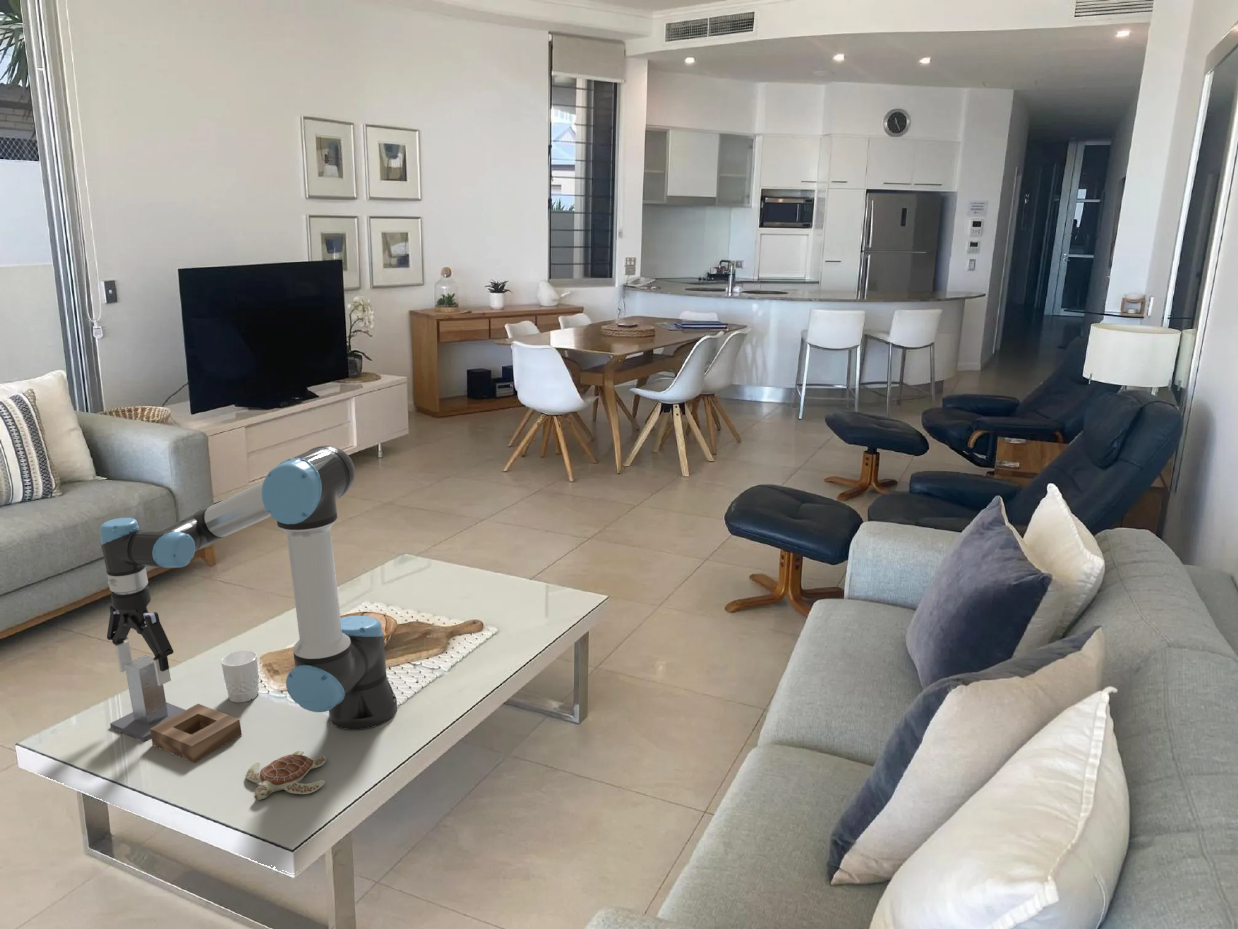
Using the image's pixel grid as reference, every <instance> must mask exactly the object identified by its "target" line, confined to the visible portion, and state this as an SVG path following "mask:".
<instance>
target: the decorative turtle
mask: <svg viewBox="0 0 1238 929" xmlns="http://www.w3.org/2000/svg"><path fill="white" fill-rule="evenodd" d="M326 759H327V758H326V757H325V756H319V757H318V756H317V757H316V758H313V759H312V758H310V757H309V756H306V755H304V750H298V751H295V752H294V753H291V754H287V755H284V756H281V757H279V758H277V759H275V760H273V761H271V762H270V763H269V764H268V765H266V766H264V767H263V768H262V769H261V770H260V771H259V767H260V765H261V764H260V762H255V763H254V764H252V765H251V766H250V767H249V768H248V770H247V771H246V774H245V777H246V778H245V779H247V780H248V781H250V782H252V783H255V784H259V785H258V786H257V787H256V788H254V790H253V793H254V799H255V800H258V801H260V800H261V801H262V800H263V799H266V798H267V797H269V796H270V795H271V794H272V793H274V792H278V791H284V790H285V791H286V793H289V794H295V795H296V794H298V795H309V794H311V793H315V792H316V791H318V790H319V789H320V788H322V787H323V786H324V785H325V782H326V781H324V780H322V779H320V780H317V781H313V782H310V783H302V782H301V781H302V780H303V779H304V777H305V776H306V775H307V774H308V773H309V771H310V770H312V769H317V768H320V767H322V766H323V765H324V764H326V763H325V762H326V761H327V760H326ZM300 782H301V783H300ZM260 783H261V784H260Z"/></svg>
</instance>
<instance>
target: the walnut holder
mask: <svg viewBox="0 0 1238 929" xmlns="http://www.w3.org/2000/svg"><path fill="white" fill-rule="evenodd" d="M150 733H151V738H150V739H151V744H152V746H154V747H156V748H158V749H161V750H164V751H165V750H166V751H165V752H168V753H170V754H172V753H173V754H172V755H175V756H178V757H179V756H180V758H182V759H184V760H187V761H188V762H191V763H194V764H195V763H196V762H199V761H200V760H202V759H203V758H206V757H207V756H209V755H210V754H212V753H214V752H215V751H218V750H219V749H222V747H224V746H226V745H228V744H229V743H231V742H233V741H235V740H236V739H238V738H240V737H241V736H243V734H242V727H241V719H240V718H237V717H234V716H233V715H232V716H231V715H229V714H226V713H224V712H221V711H219V710H216V709H213V708H211V707H208V706H206V705H203V704H200V703H197V704H194V705H193V706H191V707H189V708H187V709H185V711H183V712H181V713H179V714H177V715H175V716H173V717H172V718H170V719H168V720H166V721H164V722H162V723H160V724H158V725H156V726H154V727H152V728H150Z"/></svg>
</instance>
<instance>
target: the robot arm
mask: <svg viewBox="0 0 1238 929" xmlns="http://www.w3.org/2000/svg"><path fill="white" fill-rule="evenodd" d="M355 469H356V468H355V464H354V462H353V459H352V458H351V457H350V455H349V454H348V453H347V452H346V451H344V450H343V449H341V448H340V447H338V446H337V447H336V446H333V445H320V446H316V447H313V448H310V449H309V450H307V451H305V452H303V453H301V454H299V455H296V456H294V457H292V458H288V459H286V460H283V461H282V462H280V463H279V464H277V465H276V466H274V467H273V468H272V469H271V470H270V471H269V472H268V474H267V475H266V476H265V478H264V480H263V481H262V482H260V483H258V484H255V485H253V486H251V487H249V488H247V489H245V490H242V491H241V492H239V493H236V494H234V495H232V496H230V497H228V498H225V499H224V500H221V501H219V502H217V503H214V504H213V505H210V506H208V507H206V508H203V509H199V511H196V512H194V513H193V514H190V515H189V516H186V517H185V518H183V519H181V520H178V521H177V522H175V523H173V524H170V525H168V526H166V527H164V528H162V529H160V530H144V529H140V526H139V523H138V521H137V519H135V518H133V517H119V518H114V519H110V520H107V521H106V522H103V523H102V524H101V525H100V526H99V537H100V545H101V551H102V554H103V559H104V564H105V565H104V566H105V570H106V574H107V584H108V587H109V590H110V592H111V593H110V597H111V603H112V604H110V605H109V621H108V626H107V633H106V638H107V640H108V641H111V642H112V644H113V645H114V647H115V653H116V656H117V663H118V668H119V672H120V673H124V672H126V670H125V664H126V663H128V662H131V661H133V659H132V658H133V657H132V653H131V648H130V643H129V641H128V639H129V638H128V635H129V633H130V631H131V629H132V630H134V631H136V633H137V634H138V635H141V636H142V637H143V640H144V641H145V643H146V644H147V646H148V648H149V649H150V650H151V652H152V653H153V655H154V657H152V658H153V661H154V666H155V672H156V678H157V683H158V685H159V686H161V685H163V686H164V685H165V684H166V683H167V684H168V682H169V683H170V682H171V681H172V679H171V673H170V665H169V659H168V656H170V655H172V654H174V649H173V647H172V645H171V642H170V640H169V639H168V636H167V634H166V631H165V630H164V627H163V625H162V624H161V620H160V617H159V616H160V615H159V614H158V612H157V611H155V612H151V613H150V612H149V610H148V608H147V606H148V605H149V604H150V603H151V600H152V597H151V592H150V586H149V585H148V584H149V579H148V574H147V573H148V572H147V568H146V566H147V567H158V568H164V569H165V568H166V569H175V568H183V567H186V566H187V565H189V564H190V563H191V560H192V559H193V558H194V556H195V553H196V551H199V550H200V549H202V548H204V547H205V546H207V545H210V544H211V543H214V542H216V541H218V540H221V539H223V538H225V537H227V536H230V535H231V534H234V533H236V532H239V531H241V530H243V529H245V528H248V527H250V526H253V525H254V524H257V523H259V522H261V521H263V520H265V519H268V518H270V517H271V518H272V519H273V520H275V521H276V523H277V524H276V525H277V528H279V530H281V531H282V532H284V533H285V534H286V539H287V540H286V542H287V549H288V557H289V565H290V572H291V581H292V588H293V597H294V598H293V599H294V604H295V605H294V606H295V612H296V620H297V628H298V637H299V638H298V641H297V642H296V643H294V645H293V649H292V653H293V660H294V667H293V668H291V670H290V671H289V672H288V674H287V676H286V679H285V680H286V681H285V687H286V690H287V692H288V694H289V696H290V698H291V699H292V700H293V701H294V703H296V704H298V706H299V707H301V708H302V709H304V710H306V711H309V712H311V713H326V712H328V715H329V721H330V722H331V724H332V725H333V726H334V727H337V728H340V729H344V730H348V731H349V730H351V731H352V730H353V731H355V730H356V731H357V730H367V729H371V728H374V727H378V726H380V725H383V724H385V723H386V722H388V721H389V720H390V719H392V718H393V717H394V715H395V714H396V713H397V710H398V703H397V702H398V701H397V697H396V694H395V693H394V691H393V688H392V686H391V684H390V682H389V680H388V677H387V667H386V666H387V664H386V663H387V662H386V655H385V653H386V652H385V651H386V650H385V641H384V636H385V634H384V632H383V627H382V622H381V621H380V620H378V619H377V618H376V617H373V616H369V615H350V616H349V615H348V616H344V617H343V616H342V617H341V611H340V610H341V608H340V603H339V601H340V600H339V592H338V582H337V576H336V575H337V574H336V572H337V571H336V565H335V554H334V545H333V537H332V527H333V526H334V524H335V523H337V521H338V512H337V511H338V508H337V500H339V499H340V498H342V497H343V496H344V495H346V494H347V493H348V492H349V491H350V489H351V487H352V486H353V484H354V481H355V477H356V470H355Z"/></svg>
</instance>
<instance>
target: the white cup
mask: <svg viewBox="0 0 1238 929" xmlns="http://www.w3.org/2000/svg"><path fill="white" fill-rule="evenodd" d="M220 663H221V668H222V673H223V679H224V683H225V687H226V690H227V695H228V699H229V701H230V702H233V703H235V704H236V703H238V704H239V703H247V702H249V701H252V700H254V699H255V697H256V696H257V694H258V691H259V692H260V688H259V683H260V682H259V681H260V680H259V666H258V665H259V664H258V654H257V652H255V651H252V650H236V651H233V652H230V653H228V654H226V655H224V656H223V657H222V658H221V660H220ZM258 695H259V694H258ZM257 697H258V696H257ZM257 697H256V698H257ZM251 699H252V700H251Z"/></svg>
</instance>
